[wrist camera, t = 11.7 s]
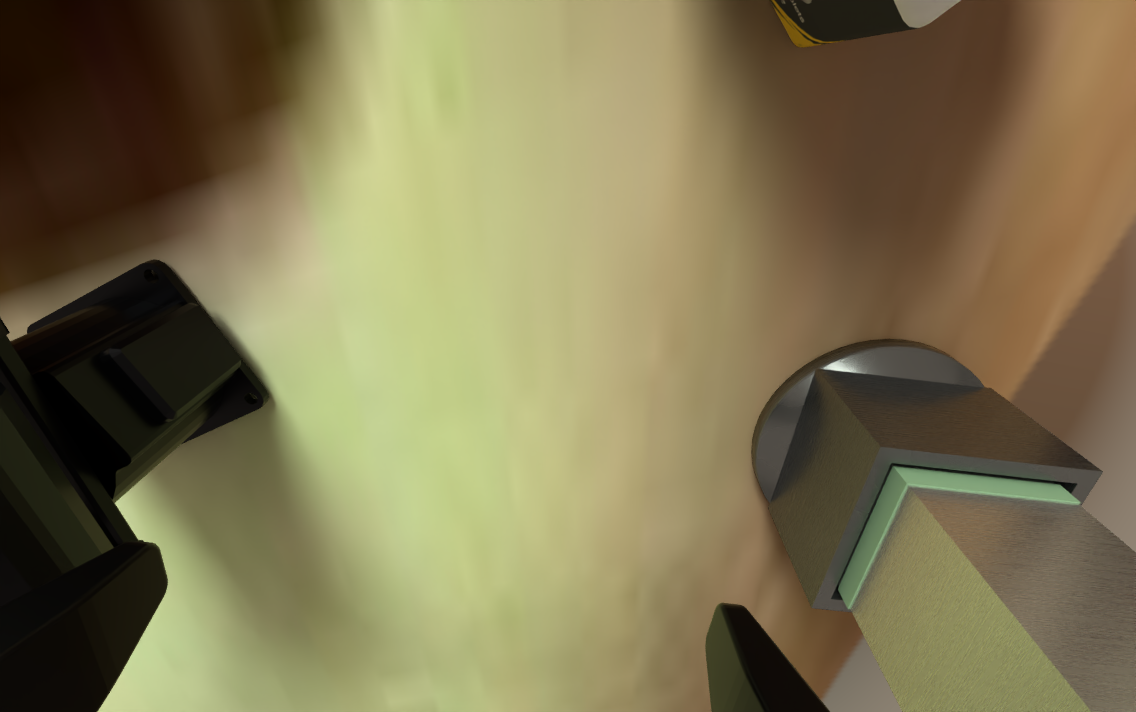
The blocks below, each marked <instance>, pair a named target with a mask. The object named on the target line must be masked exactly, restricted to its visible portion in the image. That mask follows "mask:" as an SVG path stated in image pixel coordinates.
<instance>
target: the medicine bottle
mask: <svg viewBox="0 0 1136 712" xmlns="http://www.w3.org/2000/svg"><path fill="white" fill-rule="evenodd" d="M959 1H961V0H770V2H771V4H772V5H773V7H774V9H775V11H776V13H777V15H778V16H779V18H780V20H781V22H782V24H783V26H784V28H785V29H786V31H787V33H788V35H789V37H790V39H791V40H792V42H793V43H794V44H795V45H796V46H797V47H803V48H804V47H810V46H816V45H822V44H828V43H834V42H840V41H846V40H852V39H858V38H864V37H870V36H875V35H881V34H887V33H893V32H899V31H905V30H911V29H917V28H921V27H923V26H925V25H927V24H930V23H931V22H932V21H934V20H935V19H936V18H938V17H939V16H940V15H942V14H943V13H944V12H946V11H947V10H949V9H950V8H951V7H953V6H954V5H955V4H957V3H958V2H959Z"/></svg>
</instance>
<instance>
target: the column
mask: <svg viewBox="0 0 1136 712" xmlns="http://www.w3.org/2000/svg"><path fill="white" fill-rule="evenodd" d="M1080 503H1081V502H1080V501H1078V500H1077V499H1076V498H1075V497H1074V496H1073V495H1071V494H1070V493H1069V492H1068V491H1067V490H1065V489H1064V488H1063V487H1062V486H1061V485H1059V484H1054V483H1053V482H1052V481H1050V480H1041V479H1032V478H1023V477H1014V476H1005V475H996V474H987V473H978V472H969V471H960V470H951V469H942V468H933V467H924V466H915V465H906V464H897V463H891V465H890V467H889V469H888V472H887V474H886V476H885V478H884V481H883V483H882V485H881V487H880V490H879V492H878V494H877V496H876V499H875V501H874V503H873V505H872V508H871V510H870V512H869V514H868V517H867V519H866V521H865V523H864V526H863V528H862V530H861V532H860V535H859V537H858V539H857V541H856V544H855V546H854V548H853V550H852V553H851V555H850V557H849V559H848V562H847V564H846V566H845V568H844V571H843V573H842V575H841V577H840V580H839V582H838V586H839V587H838V591H839V593H840V595H841V596H842V598H843V600H844V602H845V604H846V606H847V608H848V609H851V611H852V613H853V615H854V617H855V619H856V621H857V623H858V625H859V627H860V629H861V631H862V633H863V635H864V637H865V639H866V641H867V643H868V645H869V647H870V649H871V651H872V653H873V655H874V657H875V659H876V660H877V663H878V665H879V667H880V668H881V670H882V672H883V674H884V676H885V678H886V680H887V682H888V684H889V686H890V688H891V690H892V692H893V694H894V696H895V698H896V700H897V701H898V704H899V706H900V708H901V710H902V712H1136V552H1135V551H1133V550H1132V549H1131V548H1130V547H1129V546H1128V545H1126V544H1125V543H1124V542H1123V541H1122V540H1120V539H1119V538H1118V537H1117V536H1116V535H1115V534H1113V533H1112V532H1111V531H1110V530H1109V529H1107V528H1106V527H1105V526H1104V525H1103V524H1102V523H1100V522H1099V521H1098V520H1097V519H1096V518H1095V517H1093V516H1092V515H1091V514H1090V513H1089V512H1087V511H1086V510H1085V509H1084V508H1083V507H1082V506H1080V505H1079V504H1080Z"/></svg>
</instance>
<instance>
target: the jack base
mask: <svg viewBox="0 0 1136 712" xmlns="http://www.w3.org/2000/svg"><path fill="white" fill-rule="evenodd" d="M751 454H752V464H753V468H754V472H755V475H756V477H757V480H758V482H759V484H760V486H761V489H762V491H763V493H764V495H765V497H766V499H767V500H768V502H769V503H770V504H769V507H768V509H769V511H770V514H771V516H772V518H773V521H774V523H775V525H776V527H777V530H778V532H779V534H780V537H781V539H782V541H783V544H784V546H785V548H786V550H787V553H788V555H789V557H790V560H791V562H792V564H793V567H794V569H795V571H796V573H797V576H798V578H799V580H800V583H801V585H802V587H803V590H804V592H805V594H806V596H807V599H808V601H809V603H810V606H811V608H815V609H825V610H834V611H844V612H852V611H851V609H848V608H847V606H846V604H845V602H844V600H843V598H842V596H841V595H840V593H839V591H838V587H839V586H838V582H839V580H840V577H841V575H842V573H843V571H844V568H845V566H846V564H847V562H848V559H849V557H850V555H851V553H852V550H853V548H854V546H855V544H856V541H857V539H858V537H859V535H860V532H861V530H862V528H863V526H864V523H865V521H866V519H867V517H868V514H869V512H870V510H871V508H872V505H873V503H874V501H875V499H876V496H877V494H878V492H879V490H880V487H881V485H882V483H883V481H884V478H885V476H886V474H887V472H888V469H889V467H890V465H891V463H897V464H906V465H915V466H924V467H933V468H942V469H951V470H960V471H969V472H978V473H987V474H996V475H1005V476H1014V477H1023V478H1032V479H1041V480H1050V481H1052V482H1053V483H1054V484H1059V485H1061V486H1062V487H1063V488H1064V489H1065V490H1067V491H1068V492H1069V493H1070V494H1071V495H1073V496H1074V497H1075V498H1076V499H1077V500H1078V501H1080V502H1081V503H1080V504H1079V505H1080V506H1081V505H1082V504H1083V502H1084V500H1085V499H1086V497H1087V496H1088V494H1089V492H1090V491H1091V490H1092V488H1093V487H1094V485H1095V484H1096V482H1097V480H1098V479H1099V477H1100V476H1101V474H1102V472H1103V471H1101V470H1100V469H1099V468H1097V467H1096V466H1095V465H1093V464H1092V463H1091V462H1089V461H1088V460H1087V459H1085V458H1084V457H1083V456H1081V455H1080V454H1079V453H1077V452H1076V451H1074V450H1073V449H1072V448H1071V447H1069V446H1068V445H1066V444H1065V443H1064V442H1063V441H1061V440H1060V439H1058V438H1057V437H1056V436H1055V435H1053V434H1052V433H1051V432H1049V431H1048V430H1046V429H1045V428H1044V427H1042V426H1041V425H1039V424H1038V423H1037V422H1036V421H1034V420H1033V419H1032V418H1030V417H1029V416H1028V415H1026V414H1025V413H1024V412H1022V411H1021V410H1020V409H1018V408H1017V407H1016V406H1014V405H1013V404H1012V403H1010V402H1009V401H1008V400H1006V399H1005V398H1004V397H1002V396H1001V395H1000V394H998V393H997V392H996V391H994V390H993V389H991V388H985V387H984V386H983V384H982V383H981V381H980V380H979V379H978V378H977V377H976V376H975V375H974V374H973V373H972V372H971V371H970V370H969V369H967V368H966V367H965V366H963V365H962V364H960V363H959V362H958V361H956V360H955V359H954V358H952V357H951V356H949V355H948V354H947V353H945V352H943V351H941V350H939V349H937V348H935V347H932V346H929V345H926V344H923V343H919V342H914V341H908V340H897V339H882V340H871V341H865V342H859V343H855V344H851V345H848V346H844V347H841V348H838V349H836V350H834V351H831V352H829V353H826V354H824V355H822V356H820V357H818V358H817V359H815V360H813V361H811V362H809V363H808V364H806V365H805V366H804V367H802V368H801V369H799V370H798V371H796V372H795V373H794V374H793V375H792V376H791V377H789V378H788V379H787V380H786V381H785V382H784V383H783V384H782V385H781V386H780V387H779V388H778V389H777V390H776V391H775V393H774V394H773V395H772V397H771V398H770V399H769V401H768V402H767V404H766V405H765V407H764V409H763V411H762V412H761V414H760V416H759V419H758V421H757V424H756V427H755V430H754V434H753V439H752V450H751Z"/></svg>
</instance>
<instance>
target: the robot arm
mask: <svg viewBox="0 0 1136 712" xmlns="http://www.w3.org/2000/svg"><path fill="white" fill-rule="evenodd" d="M152 270H153V271H154V272H155V273H157V275H158V279H156V278H155V277H154V276H153V274H152ZM9 333H10V332H9V331H8V329H7V327H6V326H5V324H4V323H3V321H2V320H1V318H0V712H97V711H98V710H99V708H100V707H101V705H102V704H103V702H104V701H105V699H106V698H107V696H108V694H109V693H110V691H111V690H112V688H113V686H114V685H115V683H116V681H117V679H118V678H119V676H120V674H121V673H122V671H123V669H124V667H125V665H126V664H127V662H128V660H129V658H130V656H131V655H132V653H133V651H134V649H135V647H136V646H137V644H138V642H139V640H140V639H141V637H142V635H143V633H144V631H145V630H146V628H147V626H148V624H149V622H150V621H151V619H152V617H153V615H154V613H155V612H156V610H157V608H158V606H159V604H160V603H161V601H162V599H163V597H164V595H165V593H166V590H167V585H168V578H167V574H166V570H165V567H164V563H163V559H162V555H161V552H160V549H159V547H158V546H157V545H156V544H154V543H149V542H144V541H143V540H138V539H137V537H136V536H135V534H134V532H133V531H132V529H131V528H130V526H129V525H128V523H127V522H126V520H125V519H124V517H123V515H122V514H121V512H120V511H119V509H118V508H117V506H116V505H115V502H116V501H117V500H119V499H120V498H121V497H122V496H123V495H124V494H125V493H126V492H128V491H129V490H130V489H131V488H132V487H133V486H134V485H135V484H137V483H138V482H139V481H140V480H141V479H142V478H143V477H144V476H146V475H147V474H148V473H149V472H150V471H151V470H152V469H153V468H155V467H156V466H157V465H158V464H159V463H160V462H161V461H162V460H163V459H165V458H166V457H167V456H168V455H169V454H170V453H171V452H172V451H174V450H175V449H176V448H177V447H178V446H179V445H180V444H183V443H185V442H187V441H189V440H191V439H194V438H196V437H198V436H200V435H202V434H205V433H207V432H209V431H211V430H213V429H216V428H218V427H220V426H222V425H224V424H227V423H229V422H231V421H233V420H235V419H238V418H240V417H242V416H244V415H246V414H249V413H251V412H253V411H255V410H257V409H259V408H261V407H262V406H263V405H264V404H265V403H266V402H267V401H268V398H269V395H268V392H267V390H266V389H265V387H264V386H263V385H262V383H261V382H260V381H259V380H258V378H257V377H256V376H255V375H254V373H253V372H252V371H251V370H250V368H249V367H248V366H247V365H246V363H245V362H244V361H243V360H242V358H241V357H240V356H239V355H238V353H237V352H236V351H235V350H234V348H233V347H232V346H231V344H230V343H229V342H228V341H227V339H226V338H225V337H224V336H223V334H222V333H221V332H220V331H219V329H218V328H217V327H216V326H215V324H214V323H213V322H212V321H211V319H210V318H209V317H208V316H207V314H206V313H205V312H204V311H203V309H202V308H201V307H200V305H199V304H198V303H197V302H196V300H195V299H194V298H193V297H192V295H191V294H190V293H189V292H188V290H187V289H186V288H185V287H184V285H183V284H182V283H181V282H180V280H179V279H178V278H177V277H176V275H175V274H174V273H173V272H172V270H171V269H170V268H169V267H168V266H167V265H166V264H165V263H163V262H161V261H159V260H150V261H147V262H145V263H142V264H140V265H138V266H137V267H135V268H133V269H131V270H129V271H127V272H126V273H124V274H122V275H120V276H118V277H117V278H115V279H113V280H111V281H109V282H107V283H106V284H104V285H102V286H100V287H98V288H97V289H95V290H93V291H91V292H89V293H88V294H86V295H84V296H82V297H80V298H78V299H77V300H75V301H73V302H71V303H69V304H68V305H66V306H64V307H62V308H60V309H58V310H57V311H55V312H53V313H51V314H49V315H48V316H46V317H44V318H42V319H40V320H38V321H37V322H35V323H33V324H31V325H30V326H29V327H28V329H27V334H26V335H24V336H22V337H19V338H17V339H15V340H13V341H10V340H9V339H8V337H7V336H6V335H7V334H9ZM250 393H251V394H254V395H255V396H256V397H257V399H254V398H253V397H251V395H250ZM706 661H707V671H708V681H709V691H710V701H711V711H712V712H830V711H829V710H828V709H827V707H826V706H825V705H824V704H823V702H822V701H821V700H820V699H819V697H818V696H817V695H816V694H815V692H814V691H813V690H812V689H811V687H810V686H809V685H808V684H807V683H806V681H805V680H804V679H803V678H802V676H801V675H800V674H799V673H798V671H797V670H796V669H795V668H794V666H793V665H792V664H791V663H790V662H789V660H788V659H787V658H786V657H785V655H784V654H783V653H782V652H781V650H780V649H779V648H778V647H777V645H776V644H775V643H774V642H773V641H772V639H771V638H770V637H769V636H768V634H767V633H766V632H765V631H764V629H763V628H762V627H761V626H760V624H759V623H758V622H757V621H756V620H755V618H754V617H753V616H752V615H751V613H750V612H749V611H748V610H747V609H746V608H745V607H744V606H742V605H737V604H728V603H720V604H718V605H717V607H716V609H715V612H714V615H713V618H712V621H711V624H710V627H709V630H708V633H707V637H706Z"/></svg>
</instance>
